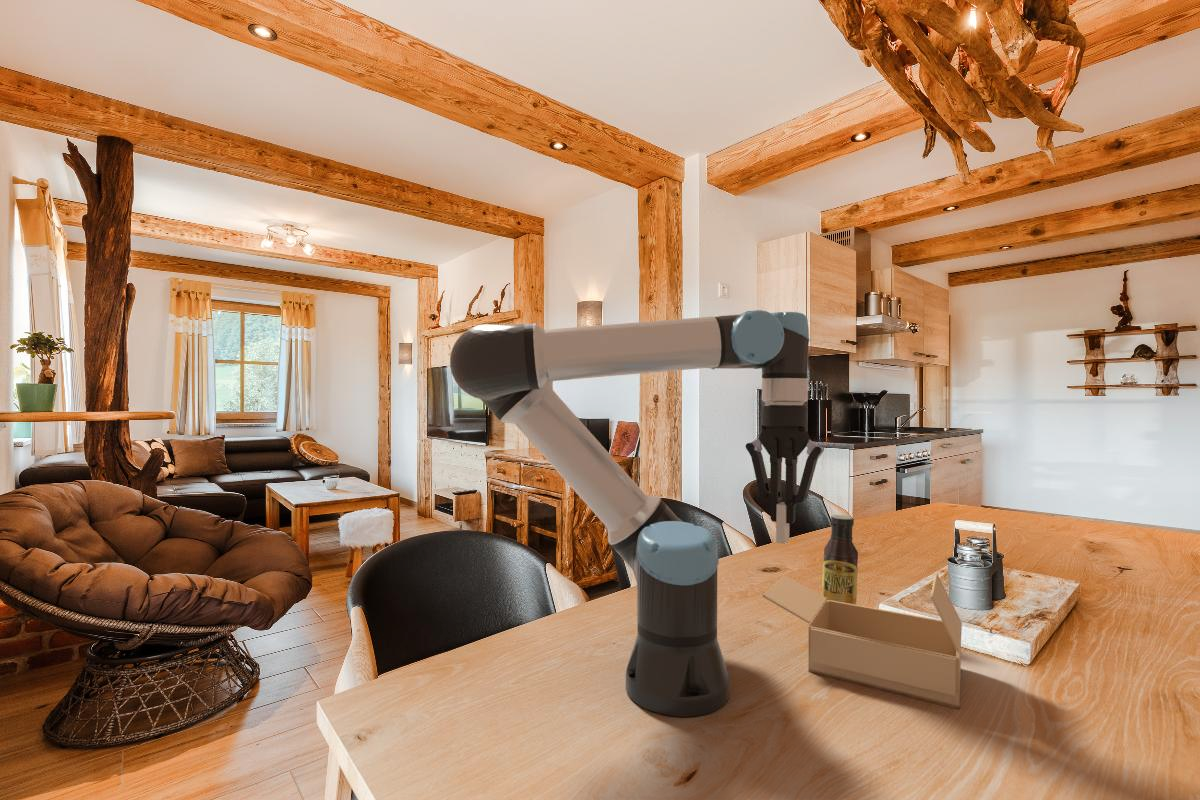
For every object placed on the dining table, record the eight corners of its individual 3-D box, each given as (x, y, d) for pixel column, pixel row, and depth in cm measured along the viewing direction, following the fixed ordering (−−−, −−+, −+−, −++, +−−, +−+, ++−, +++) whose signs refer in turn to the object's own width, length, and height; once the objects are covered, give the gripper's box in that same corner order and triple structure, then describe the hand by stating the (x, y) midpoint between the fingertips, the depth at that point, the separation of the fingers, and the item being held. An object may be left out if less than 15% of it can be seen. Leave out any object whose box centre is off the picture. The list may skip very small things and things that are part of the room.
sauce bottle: (819, 621, 110) (819, 517, 110) (823, 610, 115) (823, 511, 115) (856, 628, 107) (856, 521, 107) (858, 616, 112) (859, 514, 112)
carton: (959, 710, 79) (959, 659, 79) (807, 672, 90) (807, 627, 90) (960, 667, 91) (960, 623, 91) (827, 638, 102) (827, 599, 102)
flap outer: (960, 653, 80) (932, 596, 81) (958, 653, 80) (930, 597, 82) (961, 622, 90) (937, 573, 92) (959, 623, 90) (935, 573, 92)
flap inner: (809, 622, 90) (762, 594, 95) (809, 623, 91) (762, 596, 95) (826, 598, 101) (783, 574, 105) (826, 599, 101) (783, 576, 105)
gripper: (829, 404, 98) (827, 542, 98) (753, 403, 105) (752, 531, 105) (819, 404, 92) (817, 552, 92) (740, 403, 99) (738, 540, 99)
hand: (782, 541), depth 99 cm, fingers closed
